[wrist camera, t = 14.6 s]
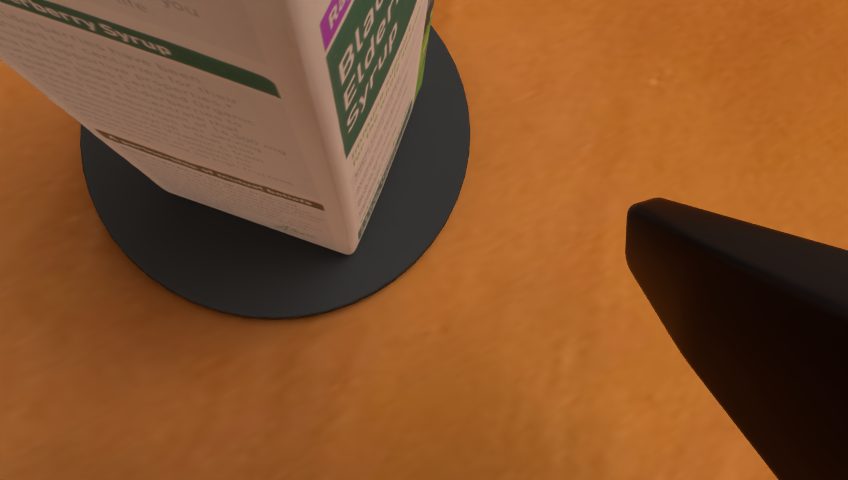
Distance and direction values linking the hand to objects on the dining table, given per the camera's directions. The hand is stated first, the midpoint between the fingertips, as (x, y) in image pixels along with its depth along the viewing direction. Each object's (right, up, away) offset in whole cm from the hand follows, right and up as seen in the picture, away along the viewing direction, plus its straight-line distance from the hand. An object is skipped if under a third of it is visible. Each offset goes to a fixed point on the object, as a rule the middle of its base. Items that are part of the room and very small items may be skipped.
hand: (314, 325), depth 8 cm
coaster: (-3, +4, +10) cm, 12 cm away
